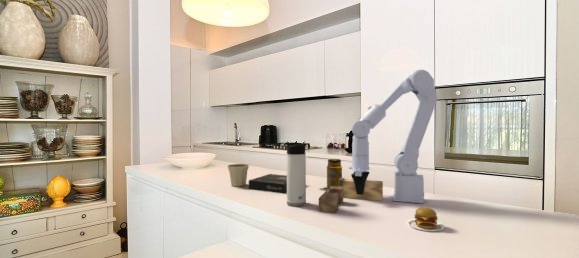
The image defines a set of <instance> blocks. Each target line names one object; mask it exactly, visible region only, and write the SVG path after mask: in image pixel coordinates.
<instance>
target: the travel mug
mask: <svg viewBox="0 0 579 258" xmlns="http://www.w3.org/2000/svg"><path fill="white" fill-rule="evenodd" d="M306 147H307V143H305V142H304V143H302V144H300V143H299V144H292V145H288V146H286V175H287V192H286V204H287V205H288V206H290V207H303V206H305V205H306V204H307V184H306V183H307V182H306V178H307V177H306V175H307V169H306V168H307V167H306V165H307V163H306V156H307V155H306Z"/></svg>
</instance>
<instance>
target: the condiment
mask: <svg viewBox="0 0 579 258" xmlns="http://www.w3.org/2000/svg"><path fill="white" fill-rule="evenodd" d="M340 178H343V167H342V160H341V159H340V158H329V159H327V166H326V186H325V187H324V186H323V187H322V188H321V187H319V190H322V191H324V192H325V191H326V190H327V189H329V188H330V187H331V186H338V187H339V179H340Z"/></svg>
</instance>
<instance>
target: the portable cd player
mask: <svg viewBox="0 0 579 258" xmlns="http://www.w3.org/2000/svg"><path fill="white" fill-rule="evenodd" d="M248 190H252V191H253V190H254V191H261V192H267V193H269V192H271V193H276V194H277V193H278V194H287V174H286V175H284V174H274V173H269V174H265V175H261V176H259V177H256V178H252V179H249V180H248Z"/></svg>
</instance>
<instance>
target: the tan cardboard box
mask: <svg viewBox="0 0 579 258" xmlns="http://www.w3.org/2000/svg"><path fill="white" fill-rule="evenodd" d="M343 203H344V197H343V187H338V186H331V187H330V188H329V189H327V190H326V191H325V190H324V192H323V193H322V194H321V195H320V196H319V197H318V212H322V213H332V214H337V213H338V210H339V206H340V205H343Z"/></svg>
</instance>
